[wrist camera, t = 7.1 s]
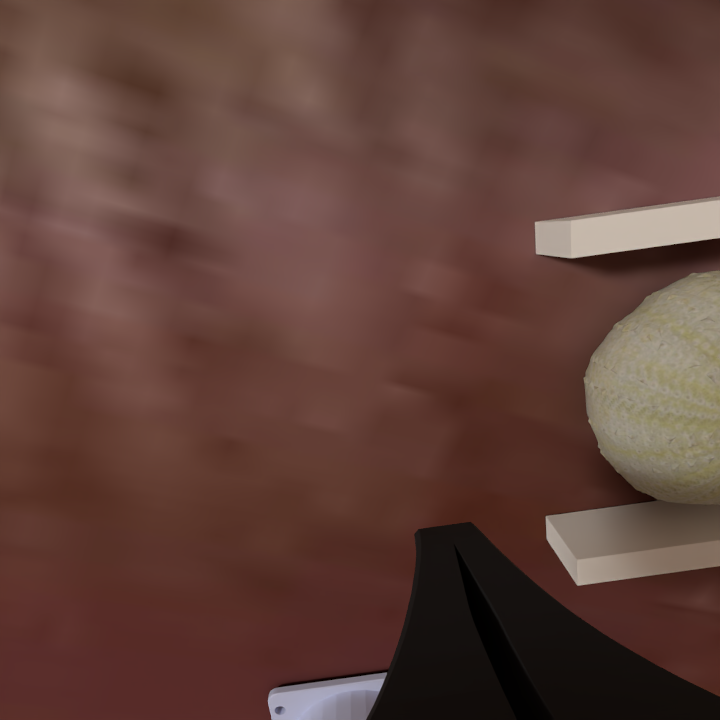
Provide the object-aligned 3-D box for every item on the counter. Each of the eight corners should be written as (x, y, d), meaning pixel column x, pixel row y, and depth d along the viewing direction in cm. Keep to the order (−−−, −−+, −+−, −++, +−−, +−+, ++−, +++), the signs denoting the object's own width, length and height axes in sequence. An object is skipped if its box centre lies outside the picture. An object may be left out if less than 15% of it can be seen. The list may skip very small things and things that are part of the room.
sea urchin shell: (804, 511, 20) (801, 600, 14) (605, 440, 25) (542, 485, 19) (893, 291, 18) (932, 291, 12) (654, 262, 23) (599, 252, 17)
